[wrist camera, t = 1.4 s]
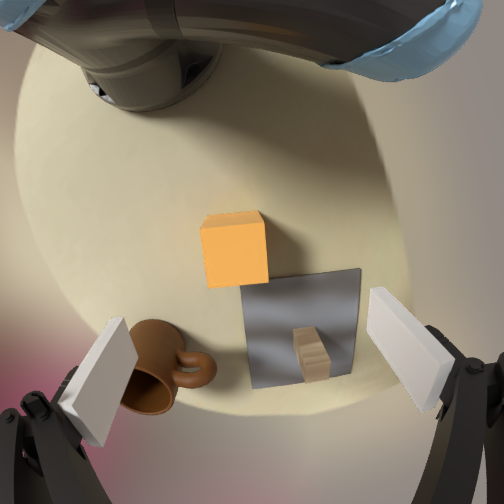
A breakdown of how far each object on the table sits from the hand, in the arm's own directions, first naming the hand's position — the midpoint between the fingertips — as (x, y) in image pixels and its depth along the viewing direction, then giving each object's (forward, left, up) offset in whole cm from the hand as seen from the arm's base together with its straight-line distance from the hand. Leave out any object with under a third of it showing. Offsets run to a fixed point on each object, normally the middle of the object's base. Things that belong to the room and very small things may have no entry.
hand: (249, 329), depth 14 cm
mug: (+11, -10, -17) cm, 22 cm away
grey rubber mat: (+12, +6, -17) cm, 22 cm away
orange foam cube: (-1, -1, -17) cm, 17 cm away
